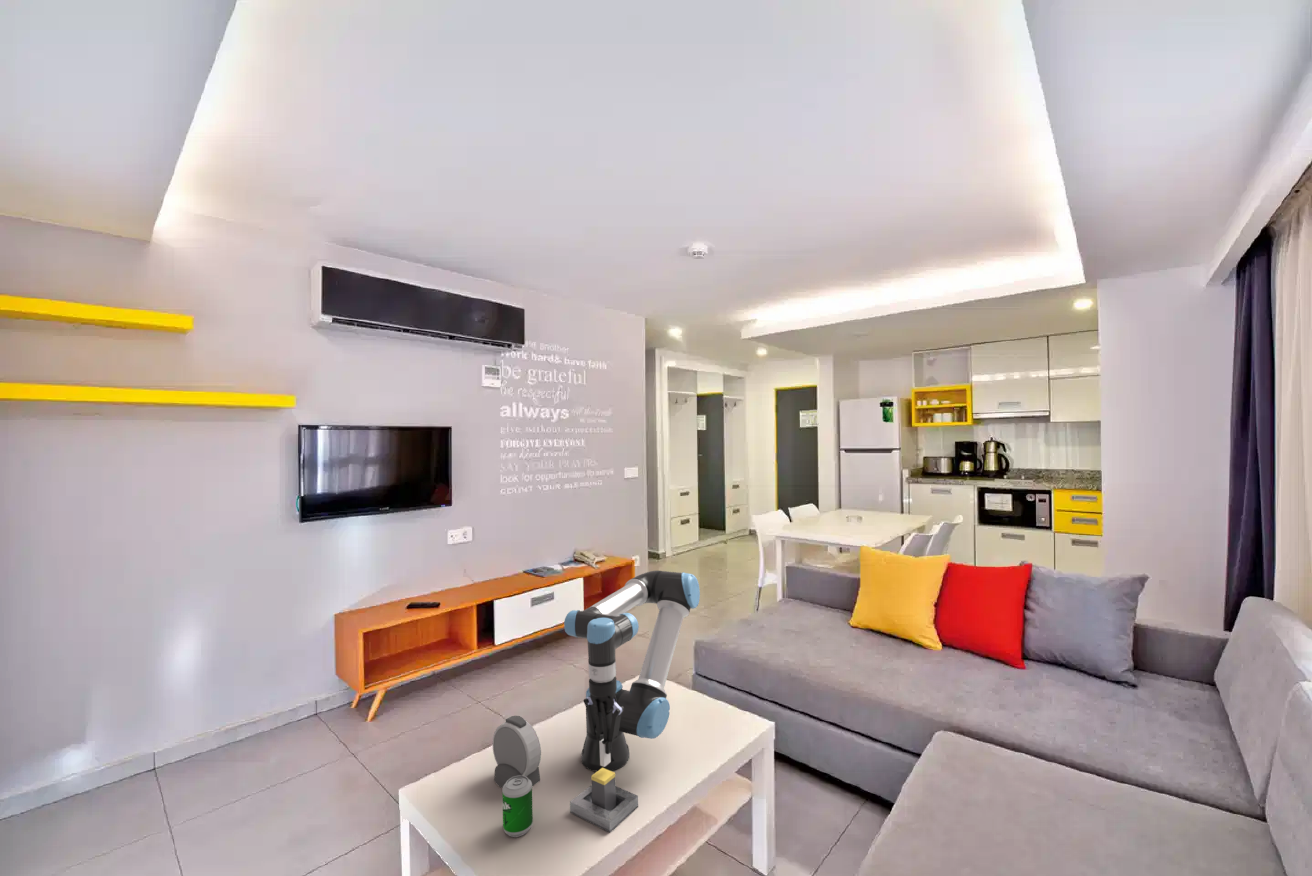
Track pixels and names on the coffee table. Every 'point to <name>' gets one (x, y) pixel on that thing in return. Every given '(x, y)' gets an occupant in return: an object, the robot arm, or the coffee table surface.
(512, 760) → the alarm clock
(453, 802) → the coffee table surface
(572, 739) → the coffee table surface
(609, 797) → the plug
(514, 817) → the soda can
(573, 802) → the socket plate
